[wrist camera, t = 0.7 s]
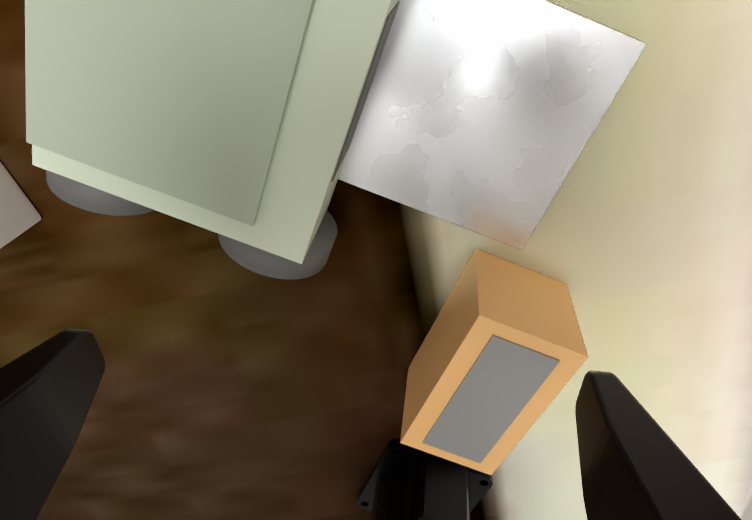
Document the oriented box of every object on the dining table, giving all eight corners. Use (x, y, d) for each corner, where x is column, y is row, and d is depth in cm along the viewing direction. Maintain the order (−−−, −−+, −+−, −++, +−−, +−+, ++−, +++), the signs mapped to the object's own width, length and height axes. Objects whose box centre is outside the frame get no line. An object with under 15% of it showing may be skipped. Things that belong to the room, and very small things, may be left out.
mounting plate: (521, 245, 24) (521, 249, 24) (339, 175, 23) (337, 179, 23) (643, 41, 19) (646, 44, 19) (418, -54, 18) (417, -53, 18)
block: (486, 394, 29) (491, 477, 25) (408, 366, 29) (399, 444, 24) (566, 282, 25) (588, 358, 20) (475, 247, 24) (479, 316, 20)
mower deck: (336, 236, 25) (310, 304, 20) (89, 143, 24) (4, 193, 19) (477, -145, 17) (484, -169, 12) (116, -304, 16) (-16, -391, 12)
